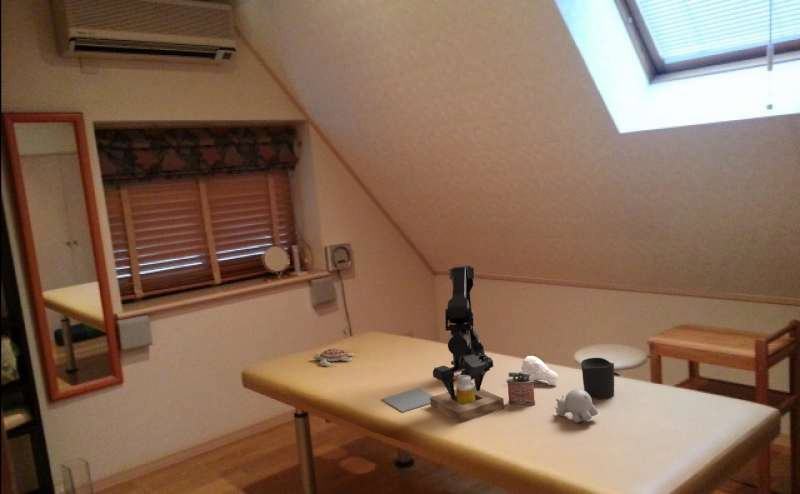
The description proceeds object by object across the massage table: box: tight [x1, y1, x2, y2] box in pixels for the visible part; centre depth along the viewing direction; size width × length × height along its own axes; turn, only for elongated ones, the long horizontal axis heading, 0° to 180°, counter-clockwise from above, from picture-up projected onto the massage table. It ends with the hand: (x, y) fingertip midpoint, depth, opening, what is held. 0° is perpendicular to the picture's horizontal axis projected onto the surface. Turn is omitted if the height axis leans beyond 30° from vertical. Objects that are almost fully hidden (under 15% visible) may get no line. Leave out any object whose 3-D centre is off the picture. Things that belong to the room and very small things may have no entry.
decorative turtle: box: [312, 348, 355, 367], centre depth 244 cm, size 18×17×5 cm
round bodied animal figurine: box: [554, 388, 599, 424], centre depth 167 cm, size 7×12×8 cm, turn 41°
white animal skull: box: [521, 355, 559, 386], centre depth 196 cm, size 6×8×12 cm
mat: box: [381, 387, 434, 414], centre depth 193 cm, size 14×14×1 cm
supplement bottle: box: [455, 374, 475, 405], centre depth 182 cm, size 5×5×10 cm
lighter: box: [506, 370, 536, 407], centre depth 181 cm, size 8×3×10 cm, turn 71°
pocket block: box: [430, 385, 505, 424], centre depth 182 cm, size 16×16×3 cm
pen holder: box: [580, 357, 615, 400], centre depth 182 cm, size 9×9×10 cm
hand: (465, 394), depth 182 cm, fingers open, 9 cm apart
